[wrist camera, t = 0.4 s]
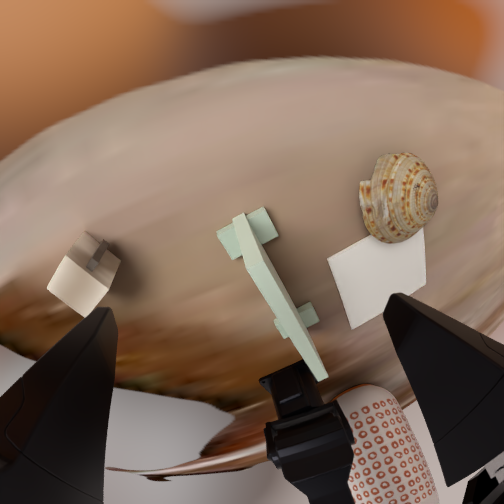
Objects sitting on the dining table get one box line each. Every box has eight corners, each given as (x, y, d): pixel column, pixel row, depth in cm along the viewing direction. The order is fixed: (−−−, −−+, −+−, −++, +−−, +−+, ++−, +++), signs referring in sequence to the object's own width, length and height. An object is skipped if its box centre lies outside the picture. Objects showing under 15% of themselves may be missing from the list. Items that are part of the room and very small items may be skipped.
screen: (317, 317, 27) (343, 369, 21) (283, 335, 28) (302, 388, 22) (261, 203, 20) (288, 247, 14) (214, 228, 21) (221, 282, 15)
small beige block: (128, 252, 20) (116, 281, 17) (98, 288, 21) (85, 318, 18) (90, 221, 18) (71, 245, 15) (64, 261, 20) (46, 288, 16)
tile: (424, 282, 28) (426, 283, 28) (350, 328, 29) (351, 329, 29) (418, 206, 23) (420, 207, 23) (326, 258, 24) (328, 260, 24)
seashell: (365, 144, 17) (457, 161, 16) (353, 145, 22) (430, 158, 21) (355, 252, 20) (442, 260, 19) (347, 231, 25) (420, 239, 24)
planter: (395, 366, 37) (468, 498, 13) (368, 406, 44) (419, 517, 20) (325, 386, 35) (391, 550, 11) (306, 423, 42) (351, 551, 17)
